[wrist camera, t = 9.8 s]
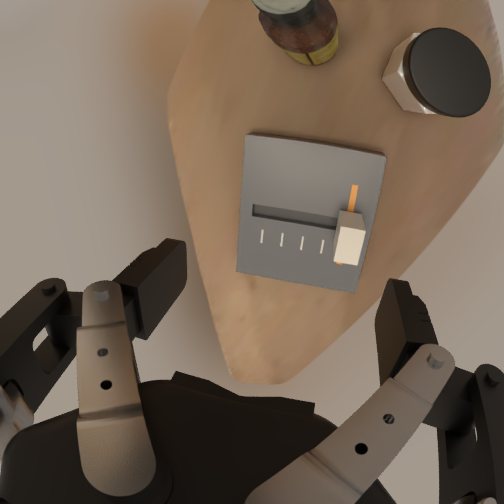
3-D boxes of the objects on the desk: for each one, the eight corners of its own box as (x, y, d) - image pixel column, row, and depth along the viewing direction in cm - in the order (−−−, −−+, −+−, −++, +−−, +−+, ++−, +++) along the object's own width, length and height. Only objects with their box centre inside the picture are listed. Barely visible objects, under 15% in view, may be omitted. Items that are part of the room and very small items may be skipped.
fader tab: (339, 206, 36) (340, 226, 31) (360, 210, 36) (365, 230, 30) (333, 237, 38) (333, 261, 32) (353, 240, 38) (357, 265, 32)
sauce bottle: (335, 19, 28) (339, -56, 11) (340, 67, 31) (352, 28, 13) (279, 21, 30) (231, -48, 12) (283, 68, 32) (237, 34, 15)
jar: (460, 96, 28) (508, 98, 18) (412, 127, 32) (446, 138, 21) (419, 34, 26) (453, 9, 16) (368, 64, 30) (386, 47, 19)
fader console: (251, 132, 37) (245, 134, 34) (382, 152, 34) (386, 157, 31) (242, 261, 45) (236, 272, 43) (353, 281, 43) (354, 293, 40)
